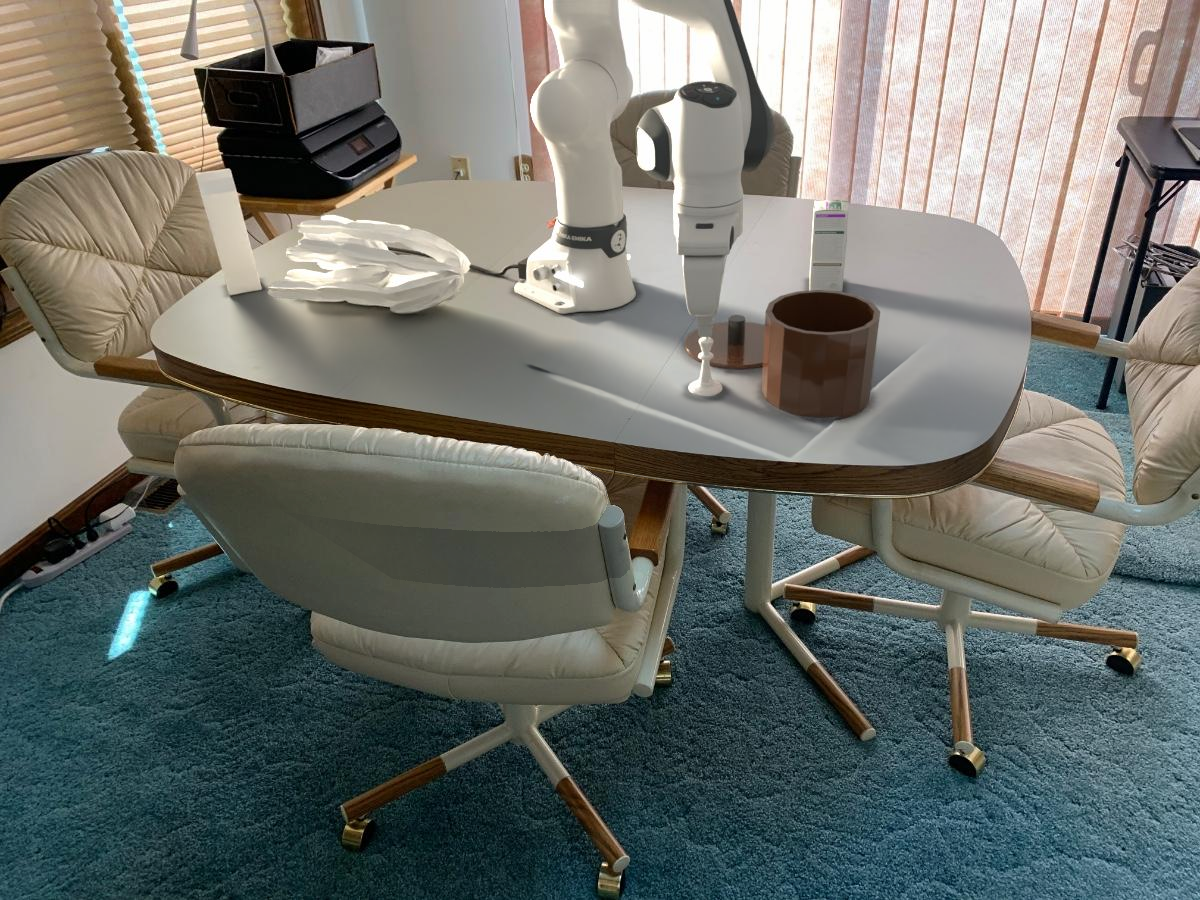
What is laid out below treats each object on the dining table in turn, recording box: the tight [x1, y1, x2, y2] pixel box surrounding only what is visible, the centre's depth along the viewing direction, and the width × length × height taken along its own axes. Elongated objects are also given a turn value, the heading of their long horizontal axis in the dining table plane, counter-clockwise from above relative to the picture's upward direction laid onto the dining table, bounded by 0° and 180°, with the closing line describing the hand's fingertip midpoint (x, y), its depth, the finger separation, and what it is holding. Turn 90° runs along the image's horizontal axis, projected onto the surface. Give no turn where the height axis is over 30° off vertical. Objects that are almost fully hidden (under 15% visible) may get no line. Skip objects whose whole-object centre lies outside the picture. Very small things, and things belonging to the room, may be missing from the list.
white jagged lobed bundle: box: [267, 214, 471, 315], centre depth 159 cm, size 17×18×35 cm
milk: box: [195, 168, 263, 296], centre depth 168 cm, size 6×6×22 cm
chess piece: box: [688, 337, 723, 397], centre depth 127 cm, size 5×5×10 cm
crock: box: [761, 290, 881, 421], centre depth 124 cm, size 15×15×13 cm
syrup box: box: [808, 199, 849, 292], centre depth 156 cm, size 6×6×14 cm
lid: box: [684, 314, 765, 370], centre depth 139 cm, size 16×16×5 cm
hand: (708, 320), depth 124 cm, fingers open, 8 cm apart
